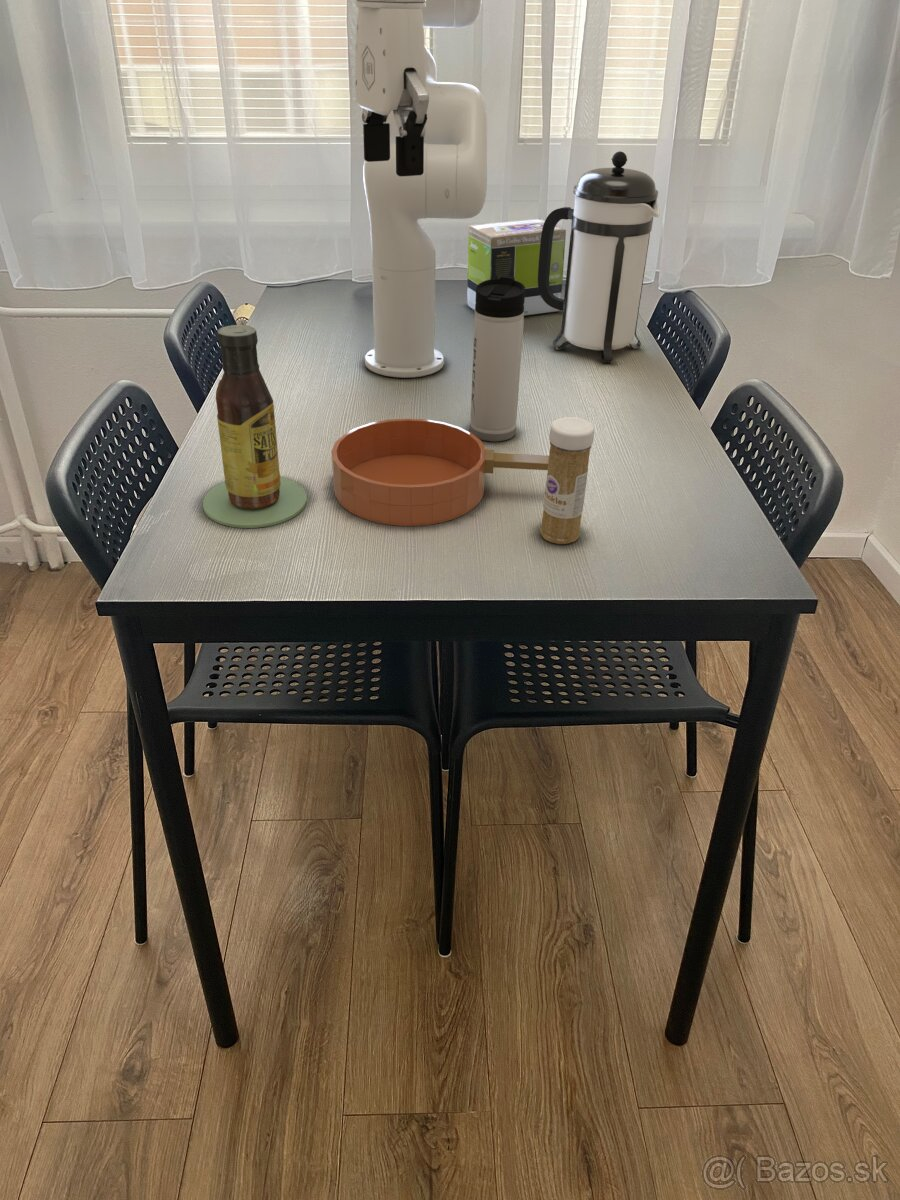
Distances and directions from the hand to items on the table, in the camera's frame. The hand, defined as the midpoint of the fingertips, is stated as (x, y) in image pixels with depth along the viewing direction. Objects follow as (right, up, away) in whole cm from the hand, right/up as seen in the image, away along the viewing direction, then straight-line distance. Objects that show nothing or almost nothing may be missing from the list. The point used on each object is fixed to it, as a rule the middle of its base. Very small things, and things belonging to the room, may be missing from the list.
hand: (393, 167), depth 104 cm
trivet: (-16, -39, 0) cm, 43 cm away
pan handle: (+16, -35, +1) cm, 39 cm away
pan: (+2, -37, +4) cm, 37 cm away
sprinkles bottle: (+19, -44, -5) cm, 48 cm away
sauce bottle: (-16, -39, 0) cm, 42 cm away
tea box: (+18, +3, +61) cm, 64 cm away
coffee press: (+30, -8, +46) cm, 55 cm away
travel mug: (+13, -28, +17) cm, 35 cm away
